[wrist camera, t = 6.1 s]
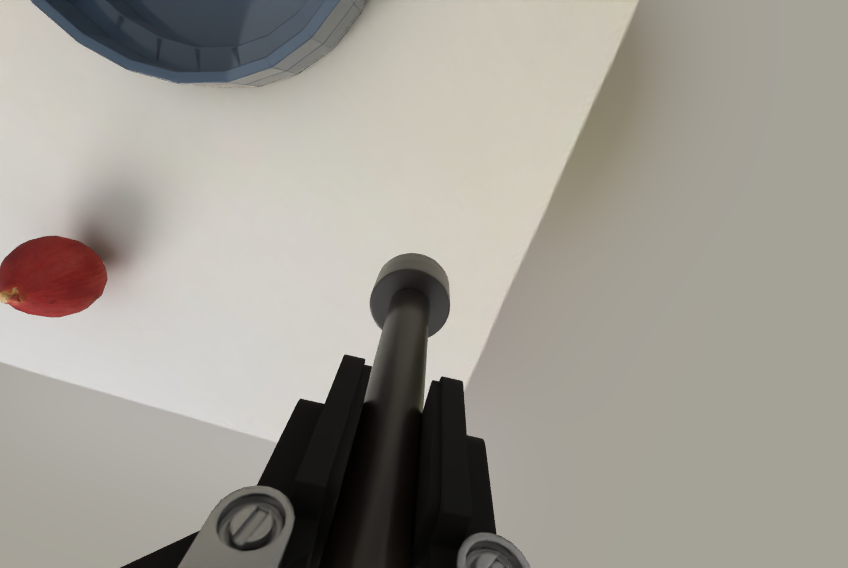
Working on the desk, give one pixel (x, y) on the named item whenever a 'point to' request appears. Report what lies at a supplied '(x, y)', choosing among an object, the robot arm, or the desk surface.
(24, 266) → the onion
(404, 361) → the dark grey bolt
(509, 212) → the desk surface
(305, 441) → the robot arm
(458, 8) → the desk surface
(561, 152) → the desk surface
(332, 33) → the bowl
